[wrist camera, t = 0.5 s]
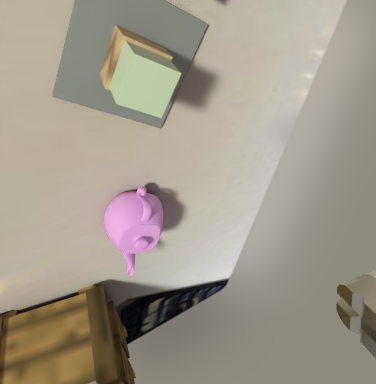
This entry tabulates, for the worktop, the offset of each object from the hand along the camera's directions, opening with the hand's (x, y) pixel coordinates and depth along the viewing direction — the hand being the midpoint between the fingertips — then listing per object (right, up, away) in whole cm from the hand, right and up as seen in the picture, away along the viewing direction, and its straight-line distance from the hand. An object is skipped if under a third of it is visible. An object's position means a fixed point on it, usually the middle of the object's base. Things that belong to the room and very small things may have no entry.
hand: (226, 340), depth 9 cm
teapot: (-15, 0, +63) cm, 64 cm away
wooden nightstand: (-39, -34, +82) cm, 97 cm away
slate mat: (-11, +27, +40) cm, 49 cm away
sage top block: (-9, +23, +36) cm, 43 cm away
